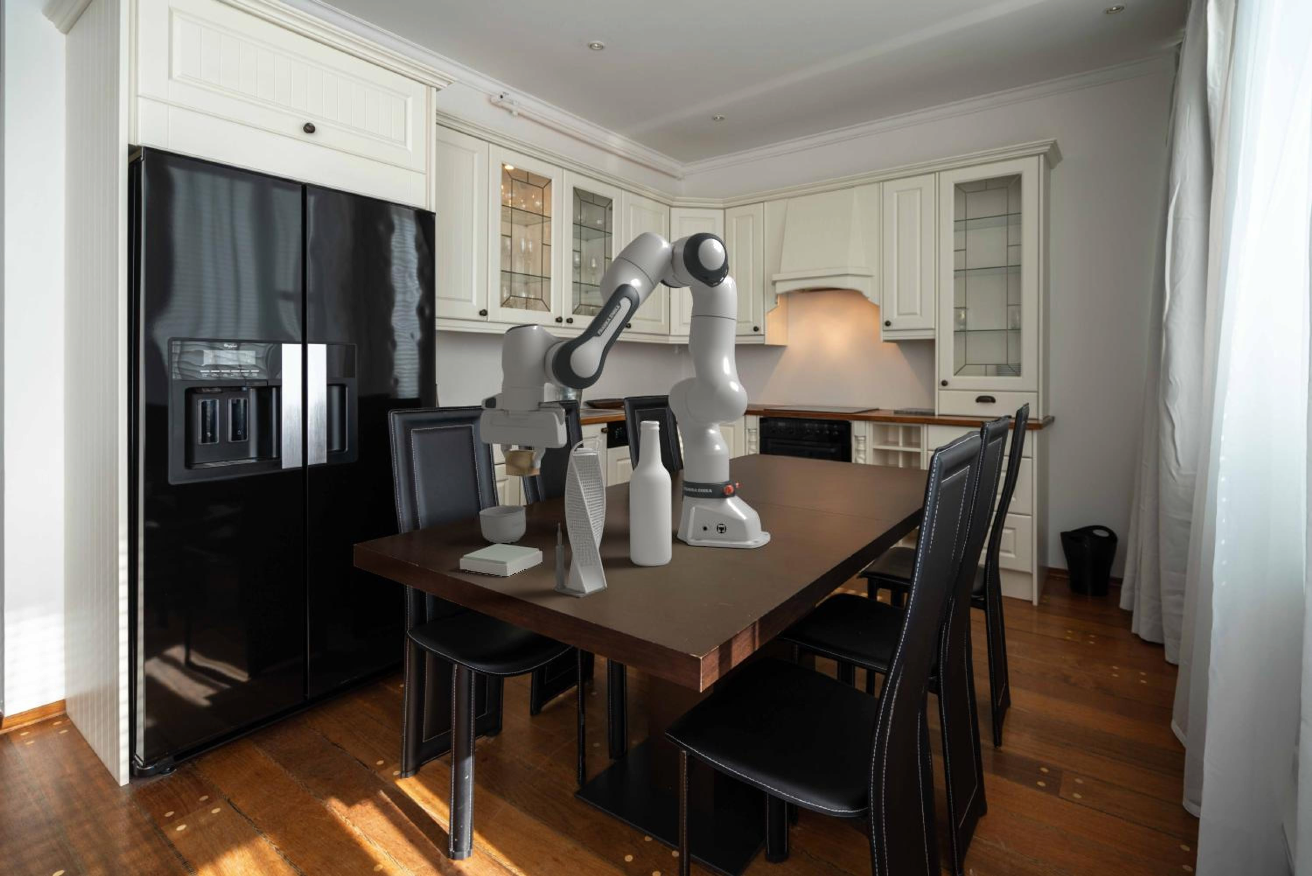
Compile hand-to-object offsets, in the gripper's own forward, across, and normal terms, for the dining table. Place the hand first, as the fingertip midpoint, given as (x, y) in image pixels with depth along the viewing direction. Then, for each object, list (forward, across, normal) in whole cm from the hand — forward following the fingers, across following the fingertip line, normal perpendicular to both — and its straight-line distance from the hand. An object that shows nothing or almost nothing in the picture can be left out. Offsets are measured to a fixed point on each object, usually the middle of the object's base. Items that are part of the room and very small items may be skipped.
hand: (522, 466), depth 145 cm
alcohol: (+20, -25, -12) cm, 34 cm away
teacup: (+21, +16, -15) cm, 30 cm away
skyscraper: (+21, -22, +10) cm, 32 cm away
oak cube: (+2, 0, 0) cm, 2 cm away
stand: (+21, +2, +4) cm, 21 cm away
